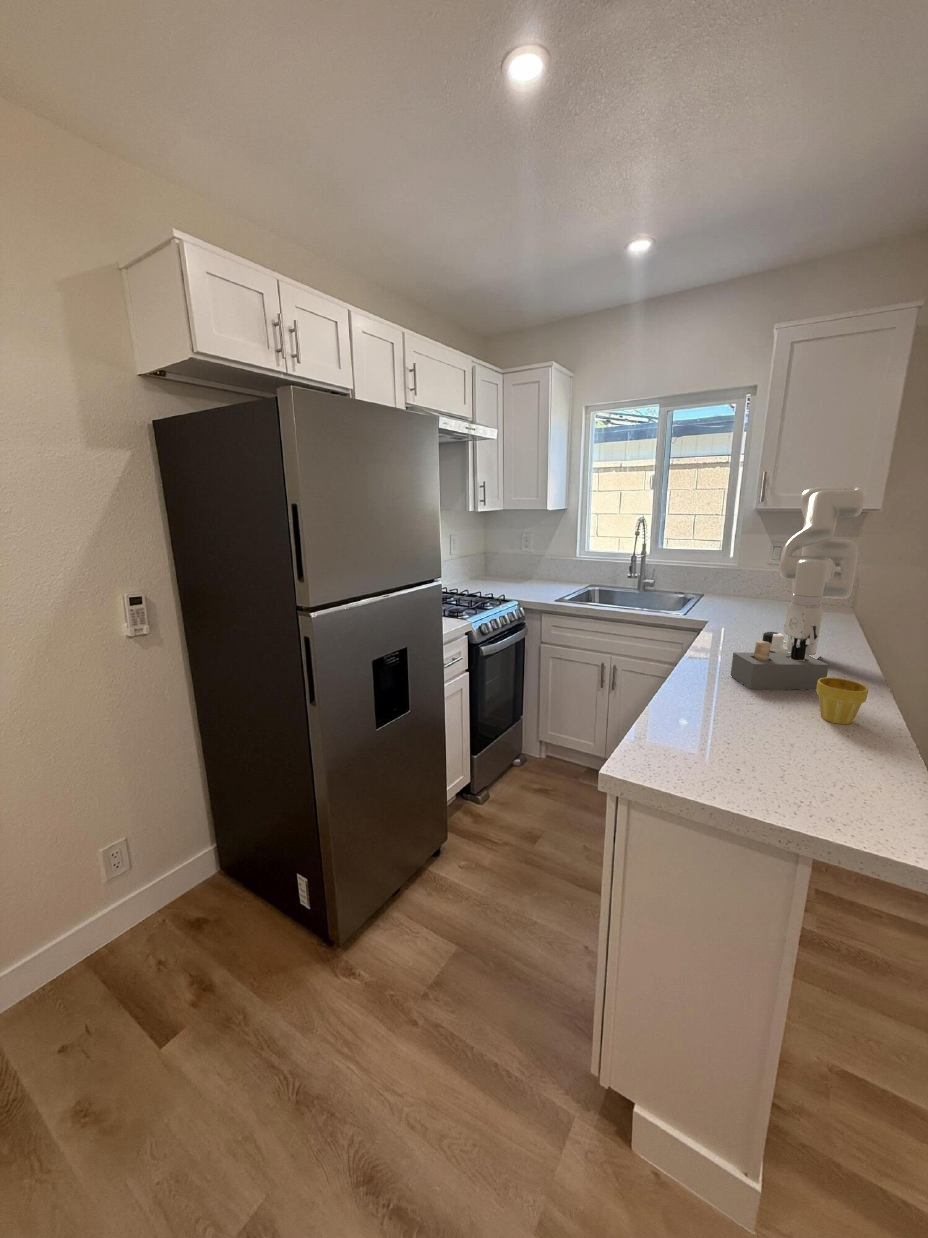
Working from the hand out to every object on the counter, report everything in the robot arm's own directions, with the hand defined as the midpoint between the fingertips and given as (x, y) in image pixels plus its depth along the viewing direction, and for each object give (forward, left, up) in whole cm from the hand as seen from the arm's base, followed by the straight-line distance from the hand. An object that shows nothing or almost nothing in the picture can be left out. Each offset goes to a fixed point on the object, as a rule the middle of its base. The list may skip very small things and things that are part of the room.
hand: (797, 659), depth 153 cm
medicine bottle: (-16, +2, -8) cm, 18 cm away
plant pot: (+27, -5, -8) cm, 29 cm away
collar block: (0, -5, -8) cm, 10 cm away
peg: (0, -11, -2) cm, 11 cm away
